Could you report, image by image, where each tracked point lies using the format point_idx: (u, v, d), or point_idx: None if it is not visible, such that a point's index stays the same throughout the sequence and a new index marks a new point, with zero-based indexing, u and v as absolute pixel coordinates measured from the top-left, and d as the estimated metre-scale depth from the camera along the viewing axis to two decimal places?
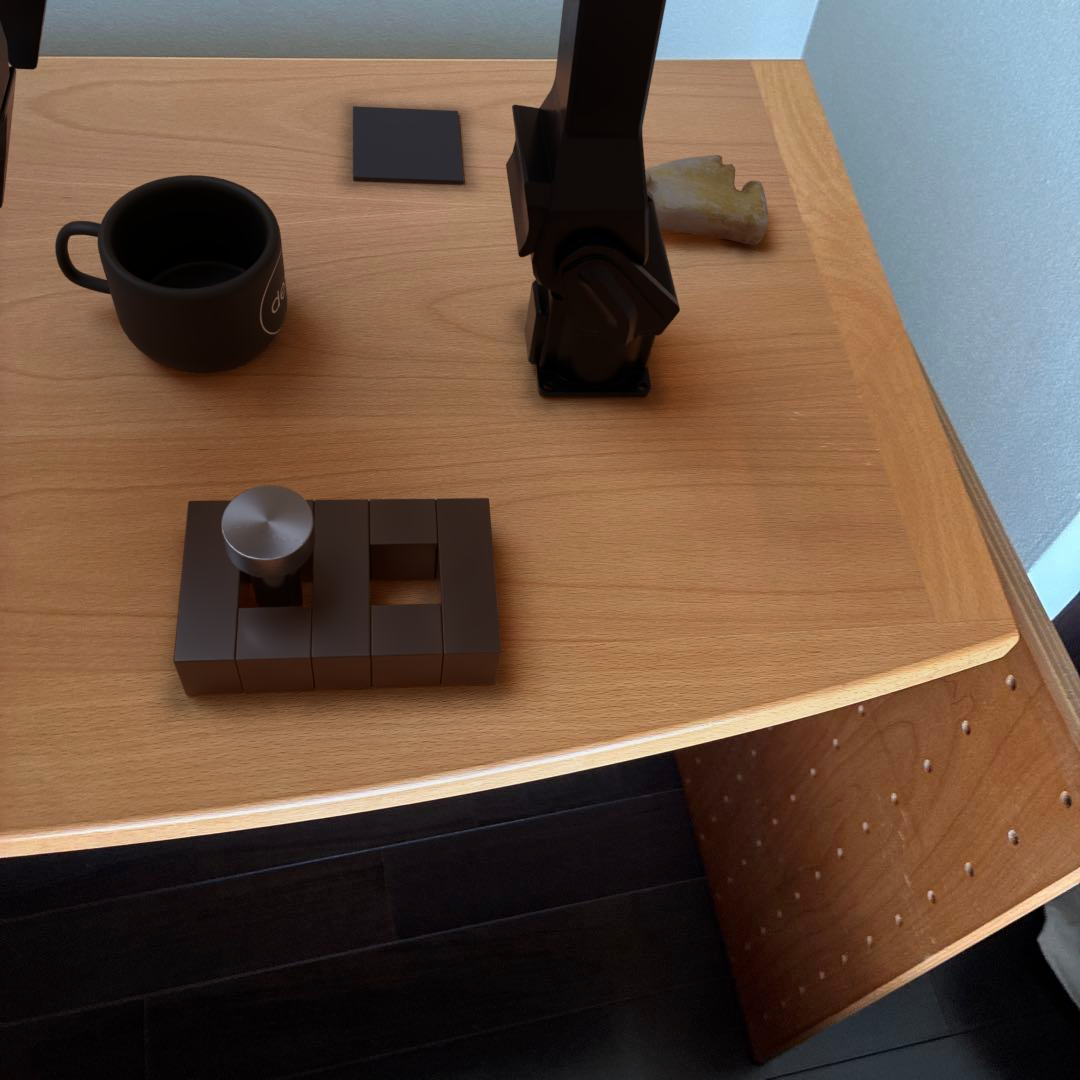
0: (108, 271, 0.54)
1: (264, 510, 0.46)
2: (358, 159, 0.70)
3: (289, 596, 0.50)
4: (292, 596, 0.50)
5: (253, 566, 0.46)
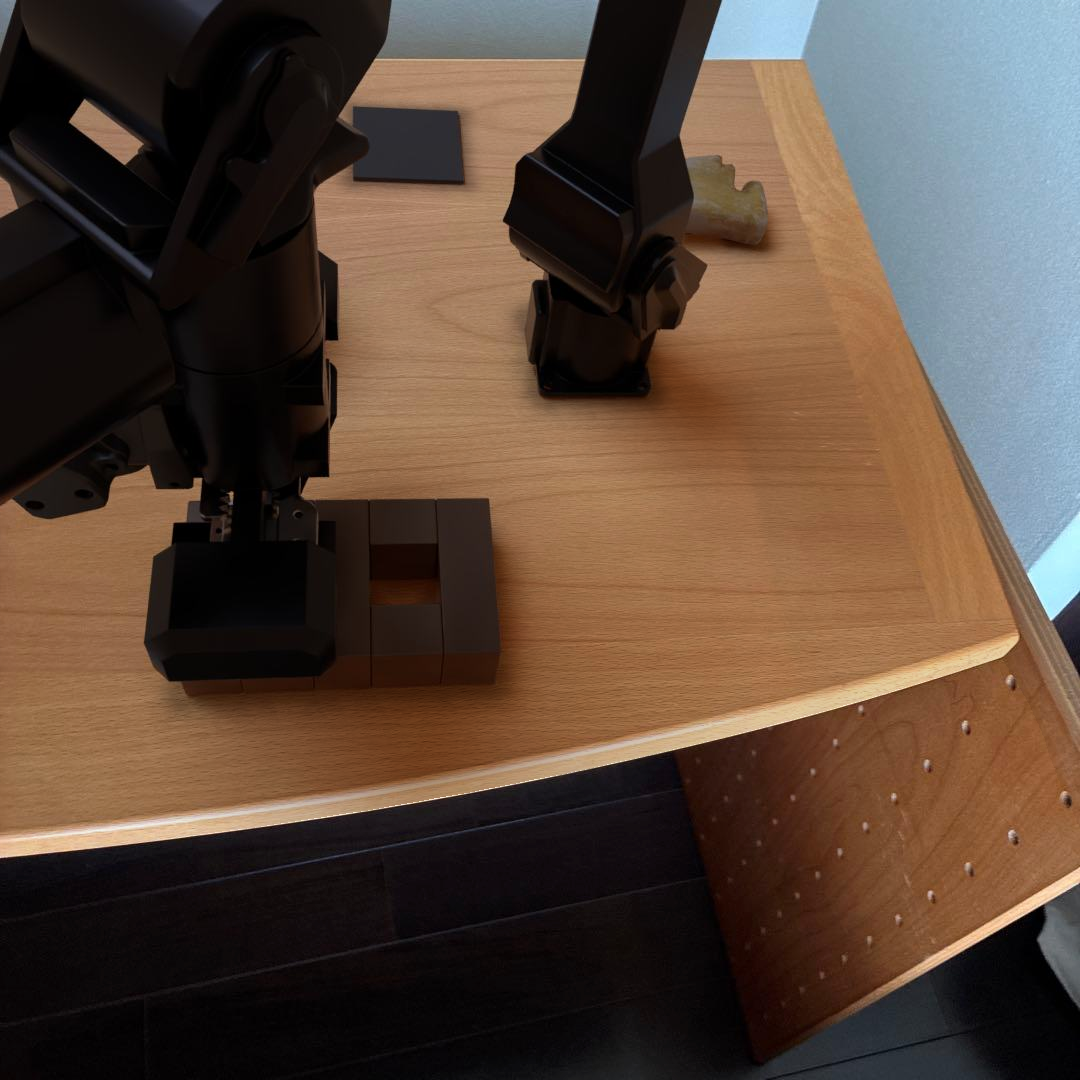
0: None
1: None
2: None
3: None
4: None
5: None
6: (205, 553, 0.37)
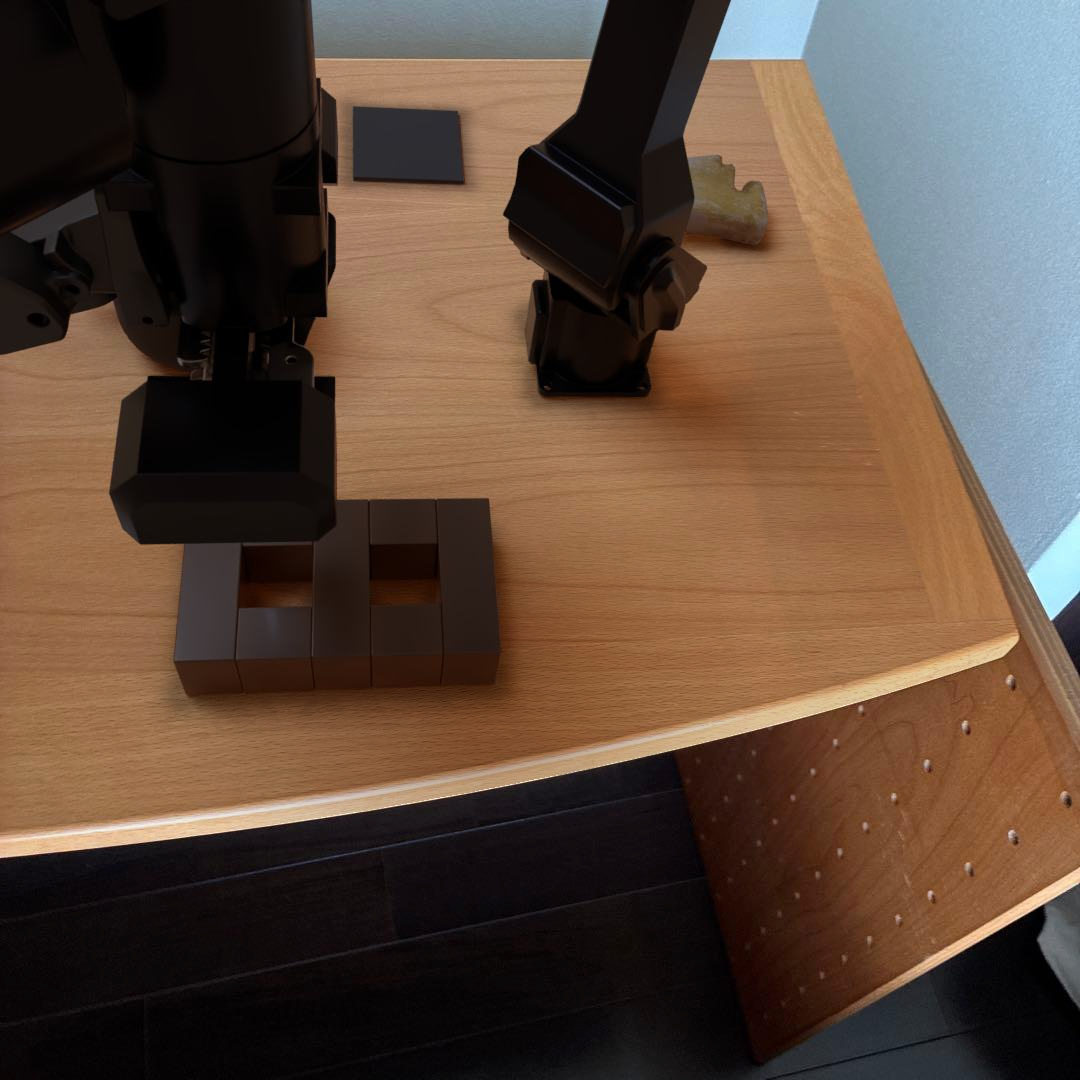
0: None
1: None
2: (358, 159, 0.70)
3: None
4: None
5: None
6: (182, 392, 0.32)
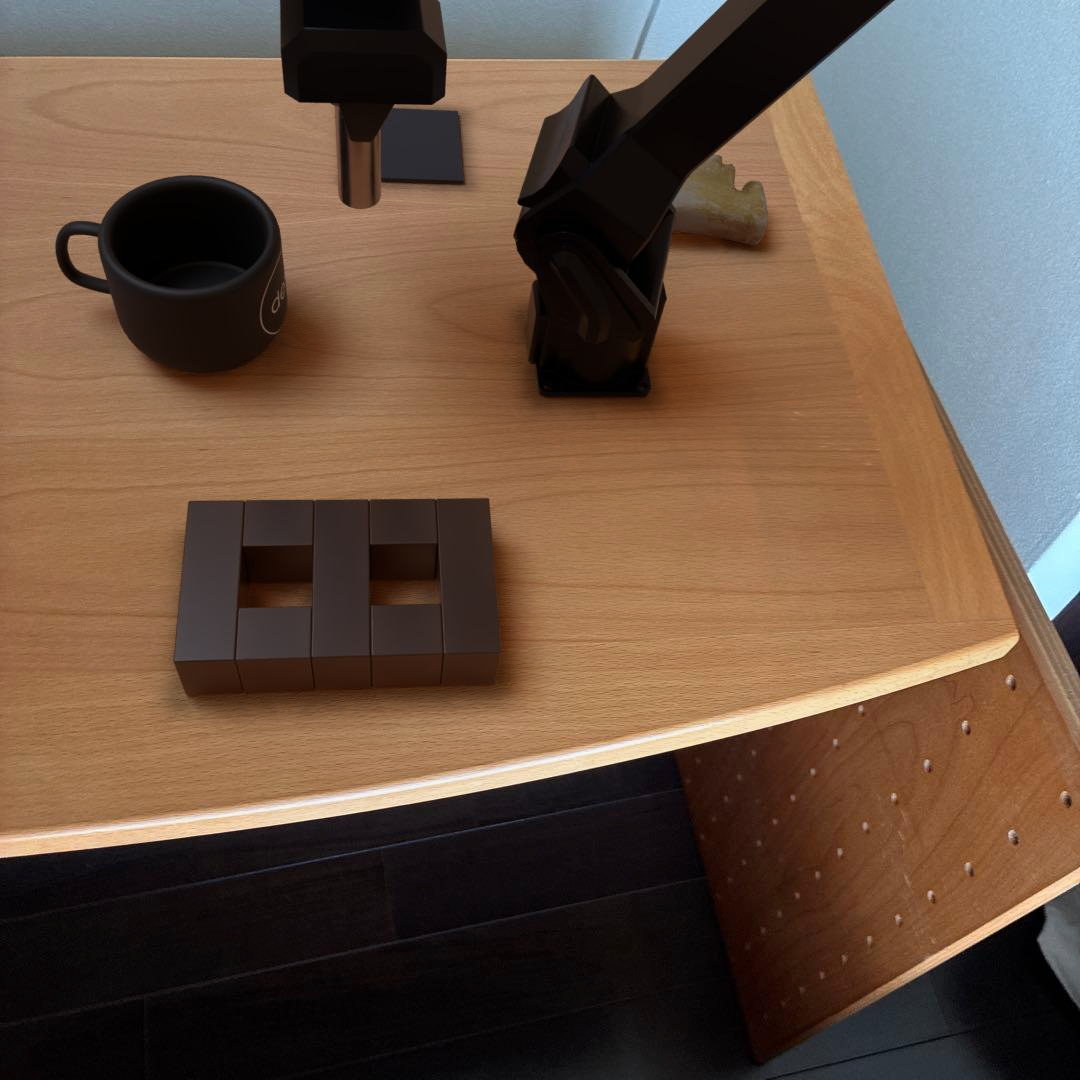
0: (108, 271, 0.54)
1: None
2: None
3: (370, 157, 0.54)
4: (373, 159, 0.55)
5: None
6: None
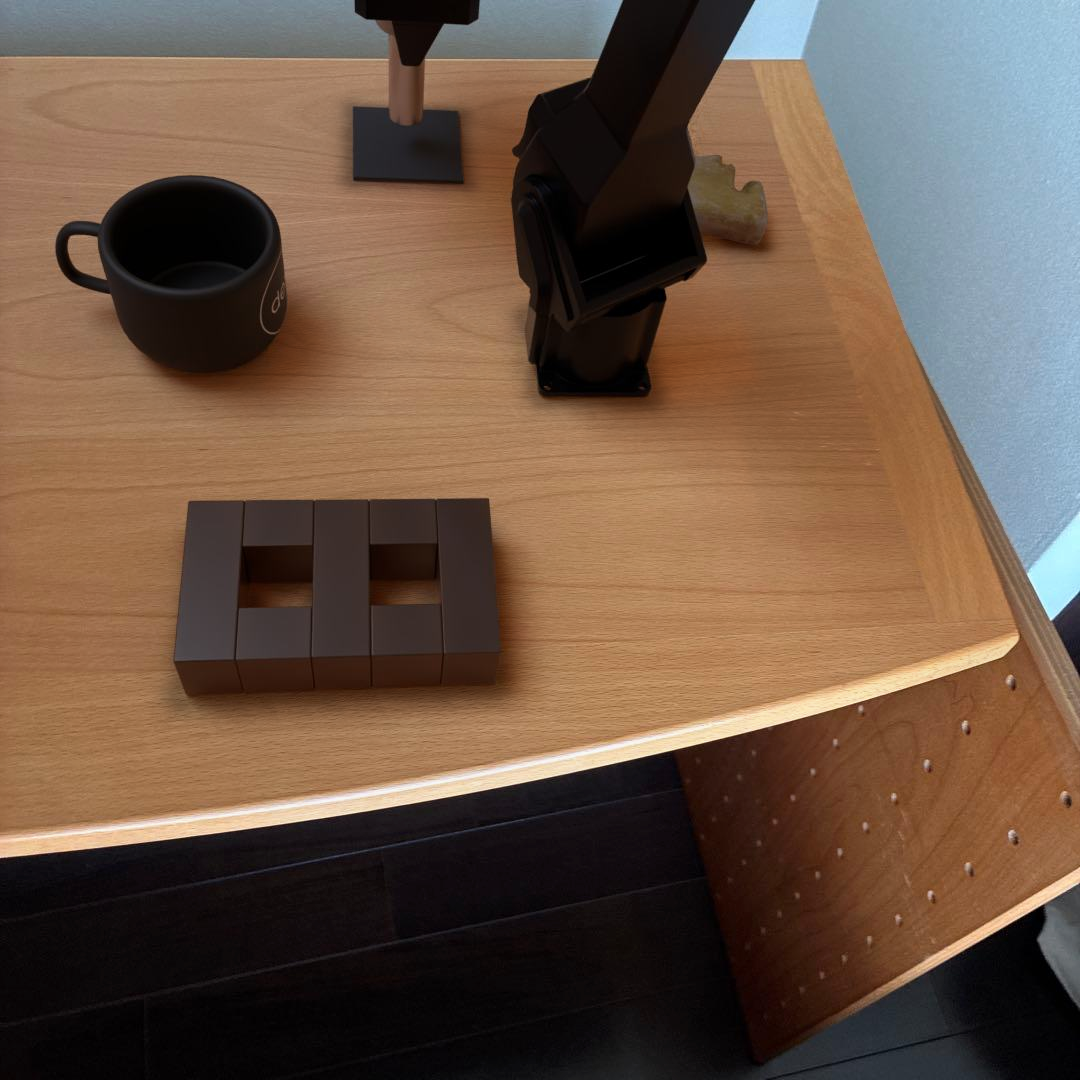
0: (108, 271, 0.54)
1: None
2: (358, 159, 0.70)
3: (416, 80, 0.67)
4: (418, 82, 0.67)
5: None
6: None
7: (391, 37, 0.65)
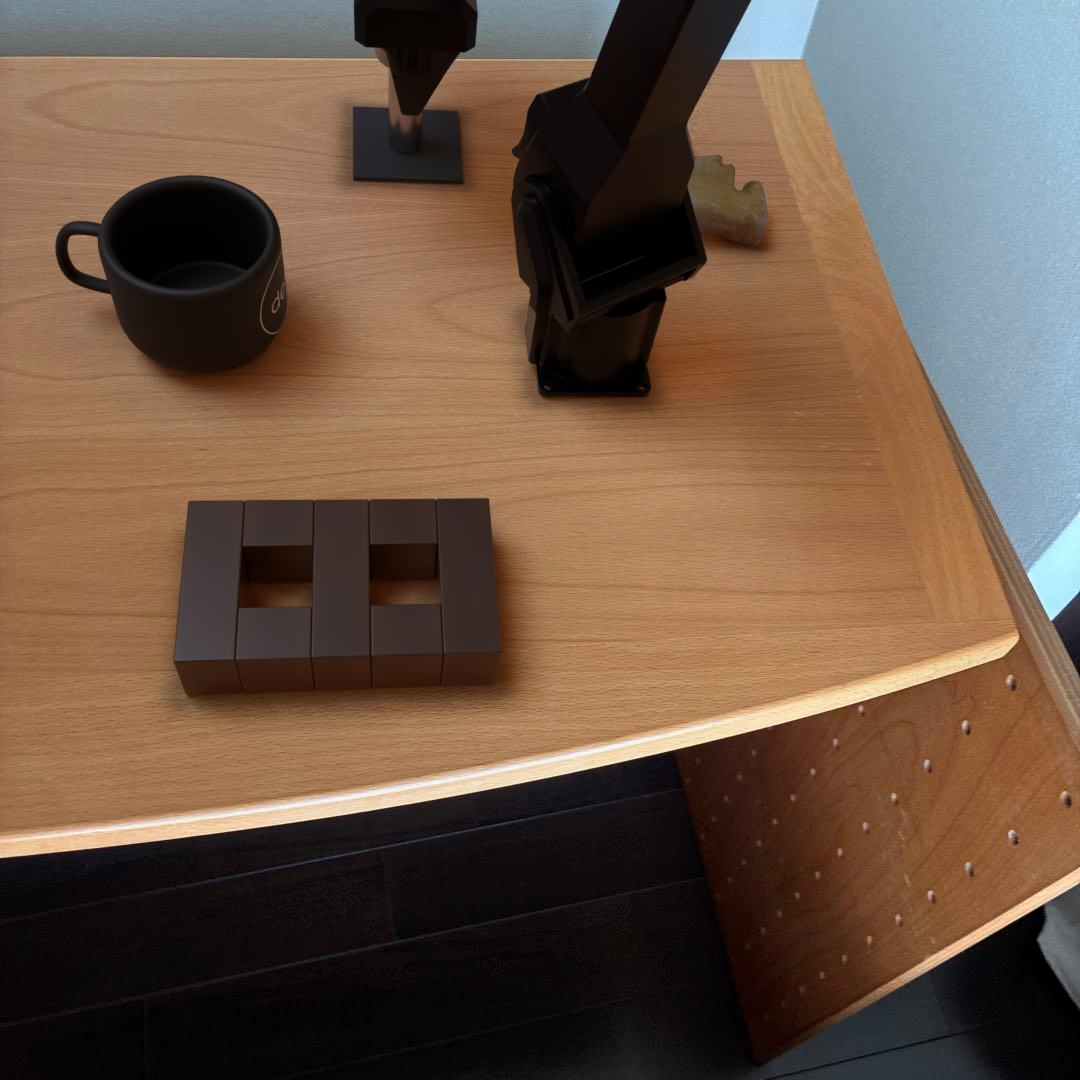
0: (108, 271, 0.54)
1: None
2: (358, 159, 0.70)
3: None
4: None
5: None
6: None
7: None
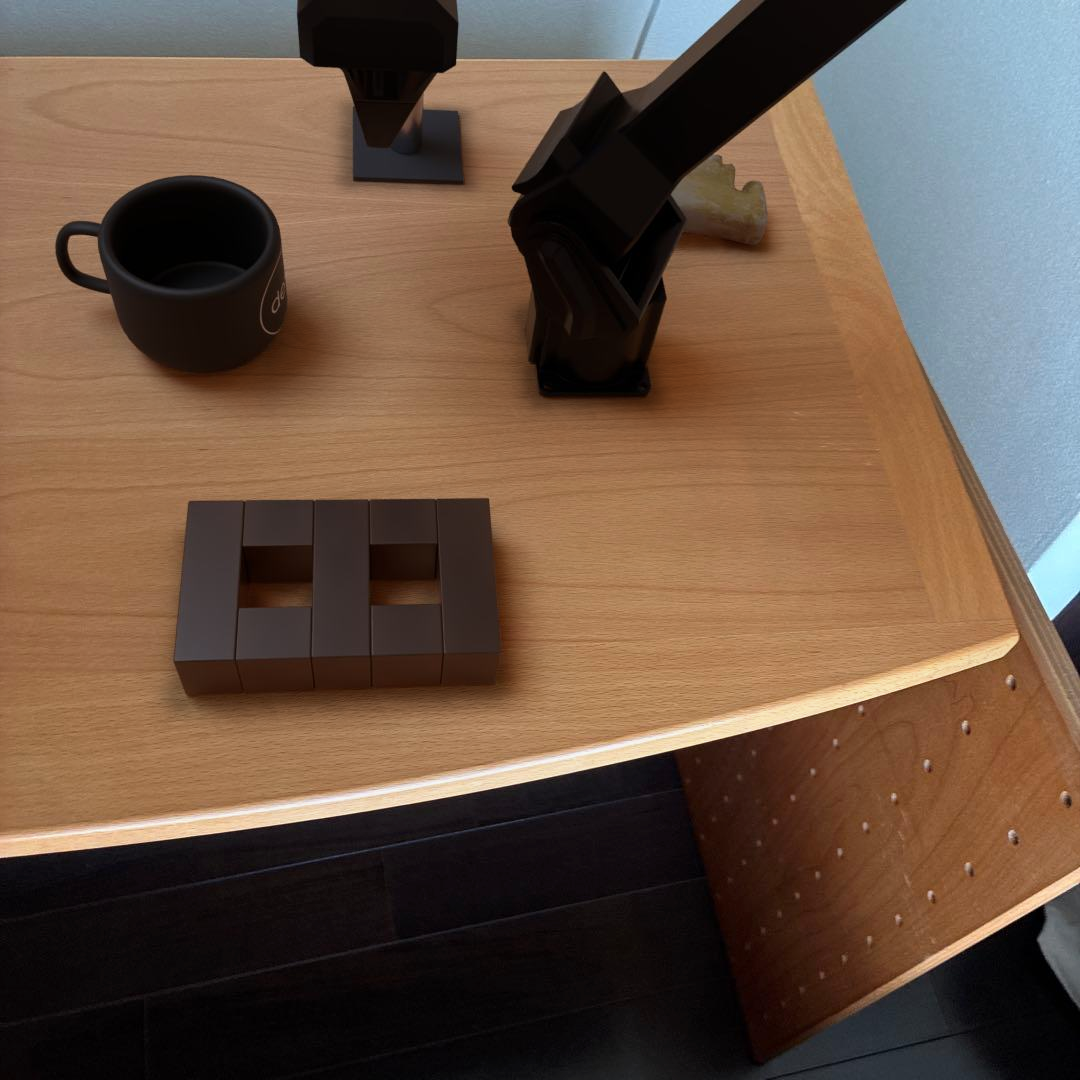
0: (108, 271, 0.54)
1: None
2: (358, 159, 0.70)
3: (415, 111, 0.69)
4: (417, 112, 0.69)
5: None
6: None
7: None
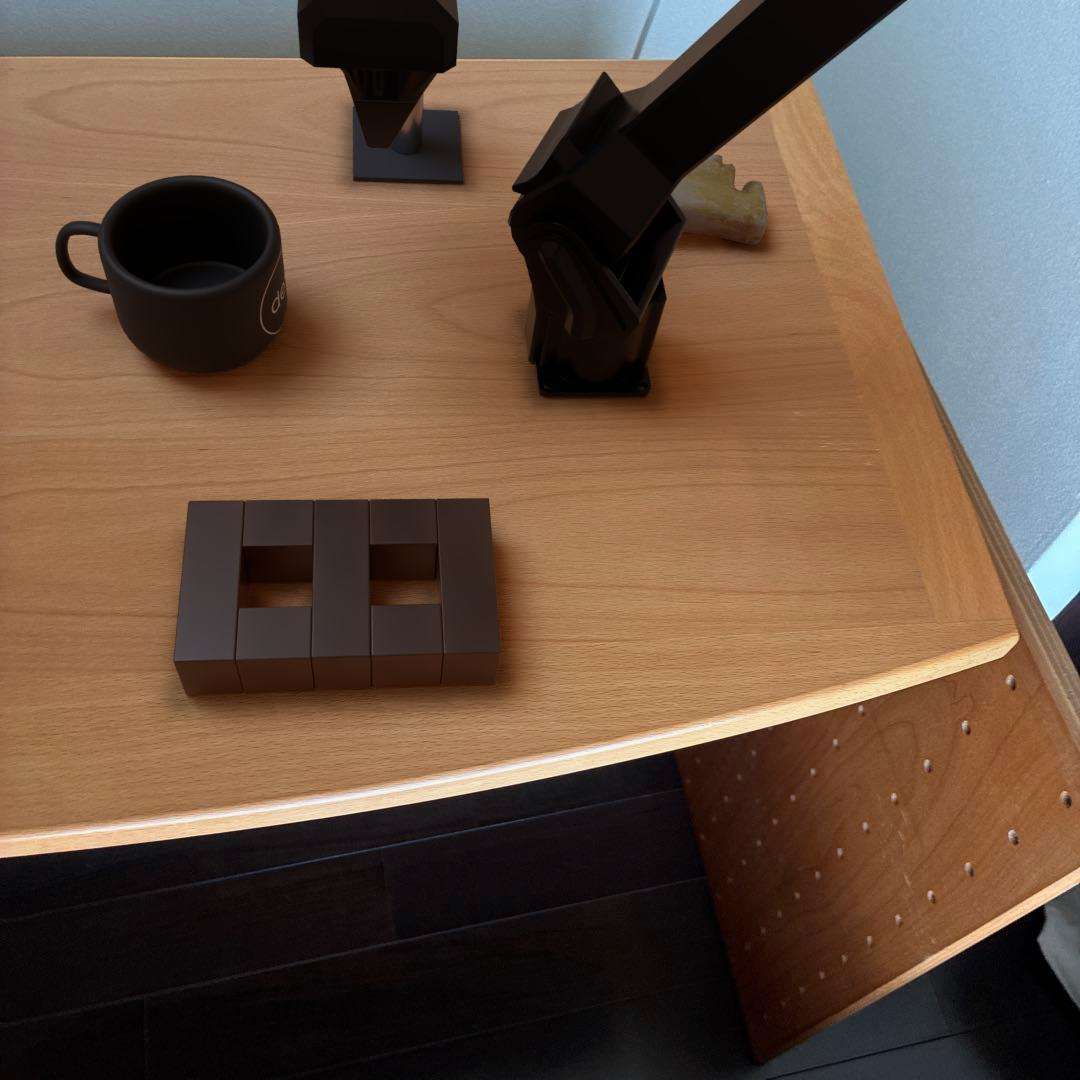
0: (108, 271, 0.54)
1: None
2: (358, 159, 0.70)
3: (415, 111, 0.69)
4: (417, 112, 0.69)
5: None
6: None
7: None
